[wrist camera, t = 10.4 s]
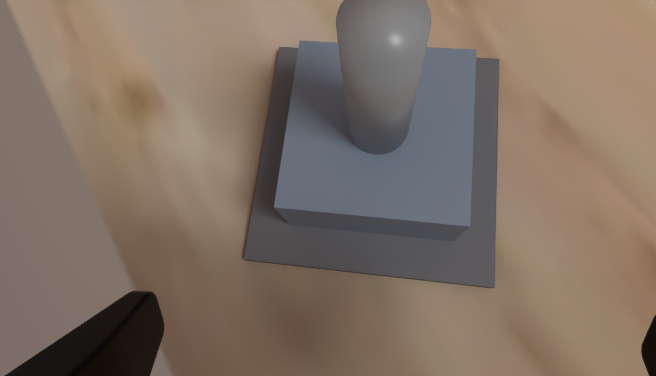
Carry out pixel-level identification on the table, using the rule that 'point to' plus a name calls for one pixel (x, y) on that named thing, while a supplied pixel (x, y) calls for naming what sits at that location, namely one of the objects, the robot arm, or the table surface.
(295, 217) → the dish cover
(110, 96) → the table surface
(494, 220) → the rubber mat
